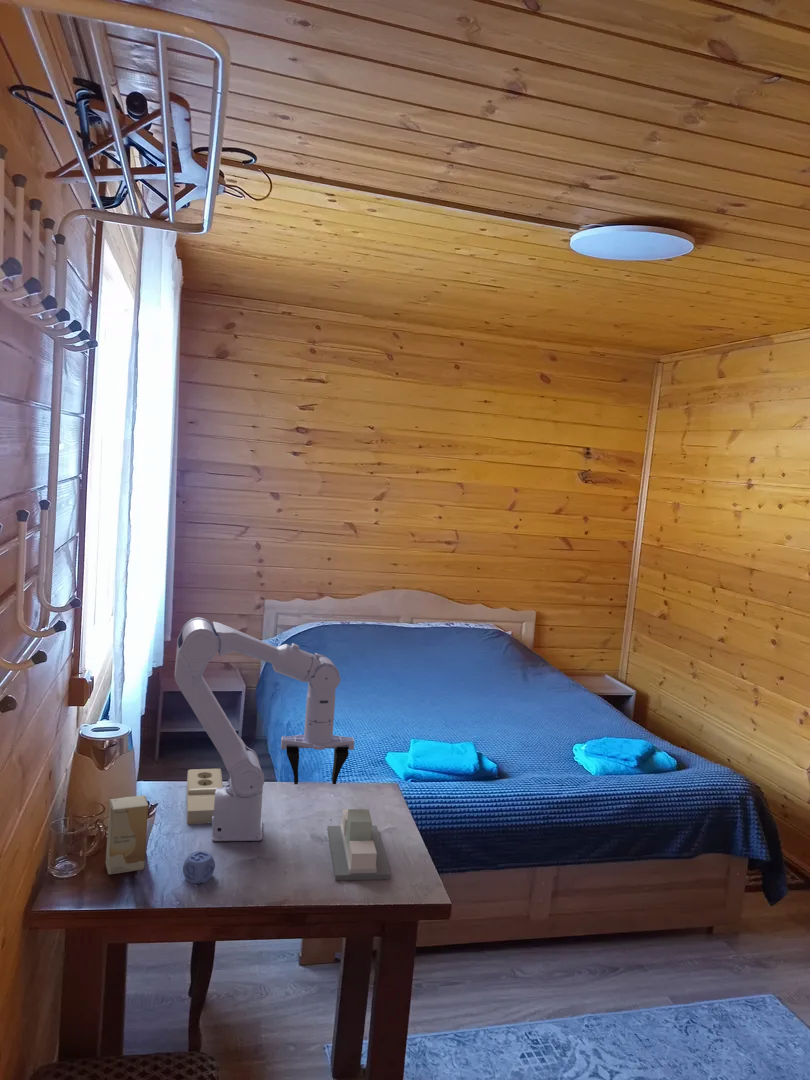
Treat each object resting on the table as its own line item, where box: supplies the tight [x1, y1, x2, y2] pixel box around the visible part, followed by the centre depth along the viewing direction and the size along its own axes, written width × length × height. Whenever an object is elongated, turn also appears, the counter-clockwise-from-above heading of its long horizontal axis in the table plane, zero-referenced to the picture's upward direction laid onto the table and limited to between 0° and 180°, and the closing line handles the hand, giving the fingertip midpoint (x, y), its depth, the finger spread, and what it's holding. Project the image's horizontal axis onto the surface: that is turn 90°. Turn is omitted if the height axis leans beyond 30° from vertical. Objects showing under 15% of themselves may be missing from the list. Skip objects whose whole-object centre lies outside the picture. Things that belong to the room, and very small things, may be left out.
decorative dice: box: [182, 850, 216, 885], centre depth 138 cm, size 4×4×4 cm
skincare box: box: [105, 795, 149, 875], centre depth 139 cm, size 6×4×12 cm
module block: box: [346, 808, 373, 852], centre depth 150 cm, size 4×5×6 cm
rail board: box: [327, 808, 391, 881], centre depth 150 cm, size 10×18×5 cm, turn 10°
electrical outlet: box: [186, 768, 224, 825], centre depth 166 cm, size 7×4×18 cm
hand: (314, 782), depth 159 cm, fingers open, 7 cm apart
